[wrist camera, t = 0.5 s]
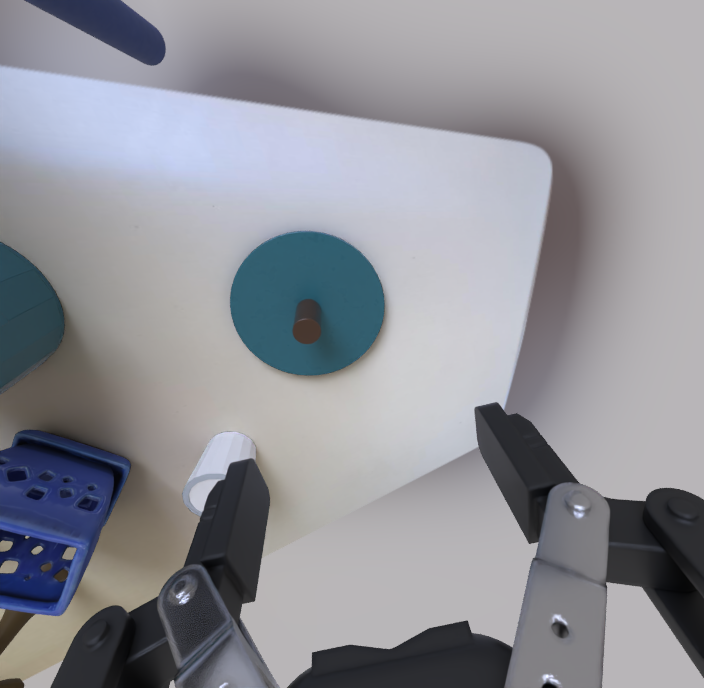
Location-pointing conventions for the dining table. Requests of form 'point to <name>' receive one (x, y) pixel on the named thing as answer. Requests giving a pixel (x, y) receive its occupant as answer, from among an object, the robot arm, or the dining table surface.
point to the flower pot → (52, 515)
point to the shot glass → (215, 466)
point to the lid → (307, 303)
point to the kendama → (18, 627)
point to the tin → (25, 318)
